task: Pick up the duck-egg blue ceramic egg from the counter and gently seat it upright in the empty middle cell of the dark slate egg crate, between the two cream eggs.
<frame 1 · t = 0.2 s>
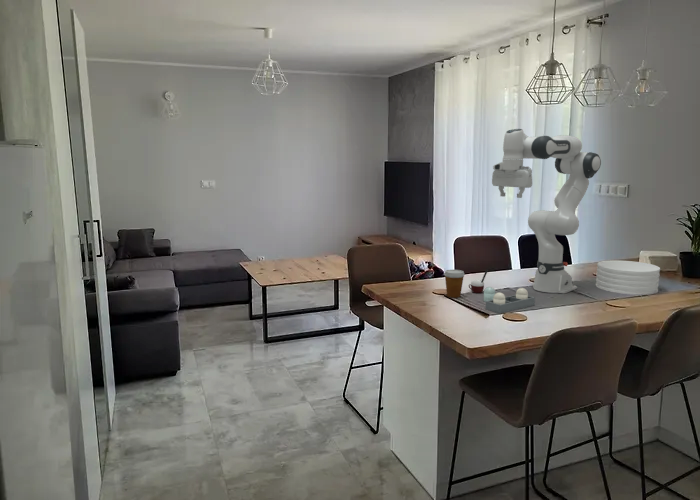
hand: (510, 197, 243), 47 cm above the table, tool pointing down, fingers open, 8 cm apart
inner cream egg: (521, 304, 238), point 1 cm above the table, touching egg crate
cocoa: (477, 292, 264), on the table
blue egg: (489, 303, 244), on the table
outer cream egg: (498, 309, 230), point 1 cm above the table, touching egg crate
egg crate: (510, 309, 234), on the table
plate stack: (626, 288, 272), on the table
disposable coffee cup: (453, 296, 256), on the table
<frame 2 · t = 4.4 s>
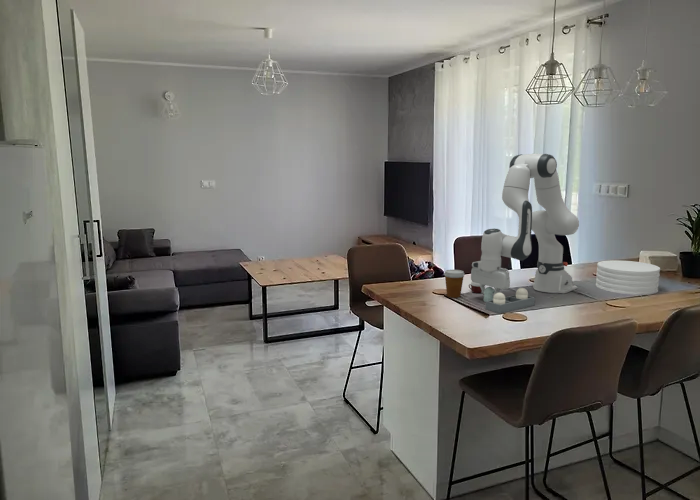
hand: (489, 295, 243), 4 cm above the table, tool pointing down, fingers closed on blue egg, 5 cm apart
blue egg: (489, 303, 244), on the table, touching gripper
everything else where it was.
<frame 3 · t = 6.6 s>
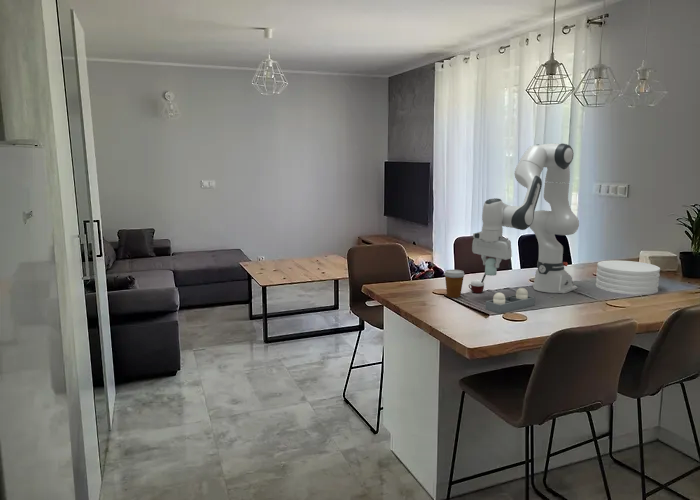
hand: (491, 266, 241), 17 cm above the table, tool pointing down, fingers closed on blue egg, 5 cm apart
blue egg: (490, 274, 242), point 13 cm above the table, touching gripper
everything else where it was.
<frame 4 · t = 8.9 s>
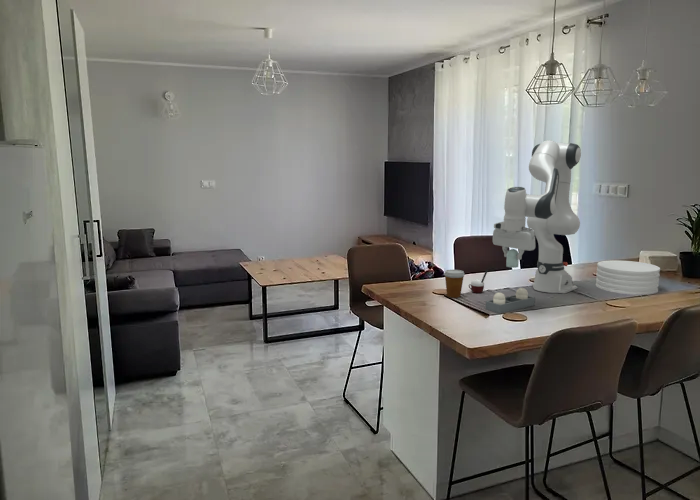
hand: (512, 258, 230), 23 cm above the table, tool pointing down, fingers closed on blue egg, 5 cm apart
blue egg: (512, 266, 231), point 19 cm above the table, touching gripper
everything else where it was.
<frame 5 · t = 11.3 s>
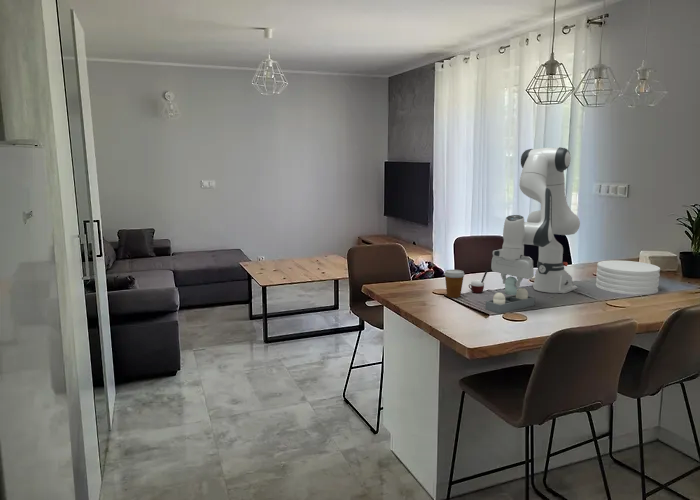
hand: (511, 285, 232), 11 cm above the table, tool pointing down, fingers closed on blue egg, 5 cm apart
blue egg: (510, 293, 233), point 7 cm above the table, touching gripper
everything else where it was.
when the fingers open (6 cm above the table, at t = 13.4 s): blue egg drops 1 cm, resting on egg crate.
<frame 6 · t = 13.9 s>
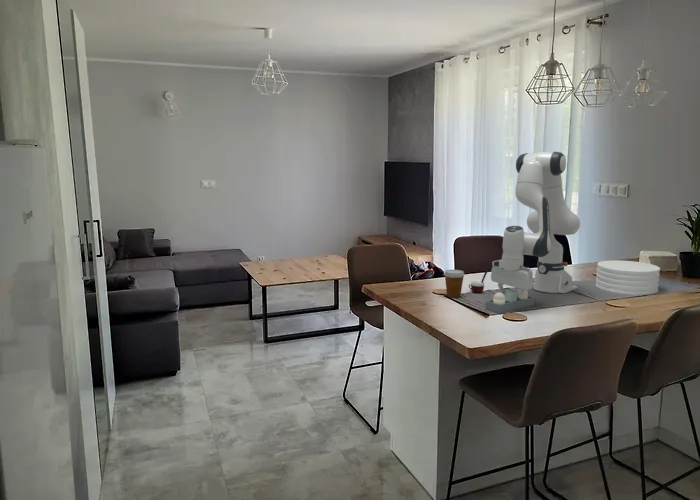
hand: (510, 295, 233), 6 cm above the table, tool pointing down, fingers open, 8 cm apart
blue egg: (510, 307, 234), point 1 cm above the table, touching egg crate
everything else where it was.
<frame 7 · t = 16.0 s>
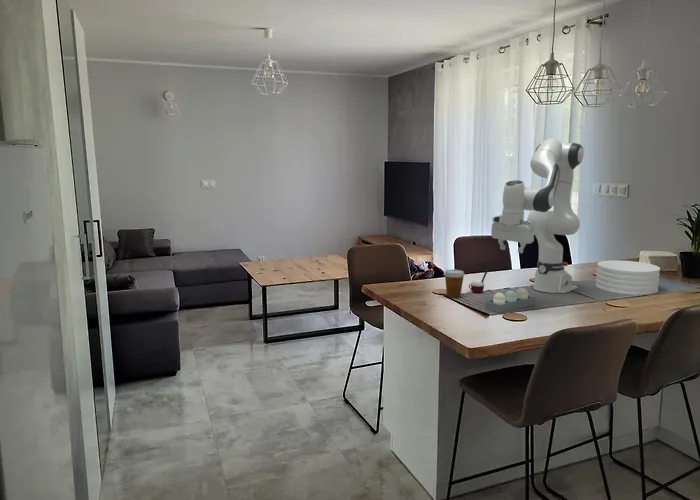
hand: (511, 251, 232), 25 cm above the table, tool pointing down, fingers open, 8 cm apart
nothing on the table moved.
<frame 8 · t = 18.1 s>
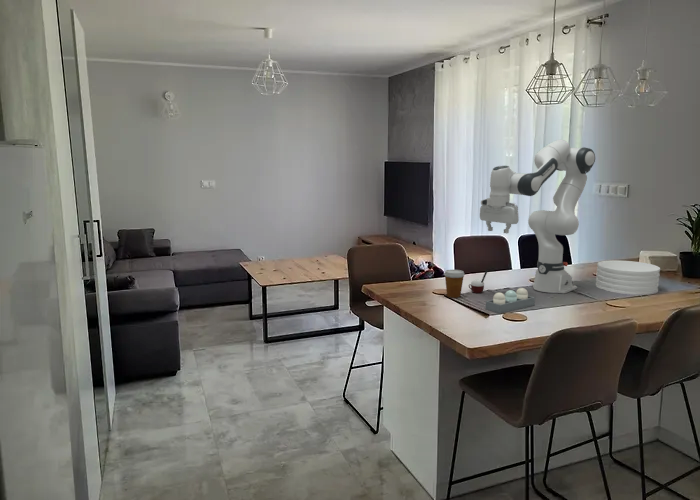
hand: (498, 232, 248), 31 cm above the table, tool pointing down, fingers open, 8 cm apart
nothing on the table moved.
at the end: blue egg 0.0 cm off-centre on the egg crate, point 1.0 cm above the egg crate's base; blue egg tilted 0°; outer cream egg moved 0.0 cm from its start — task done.
